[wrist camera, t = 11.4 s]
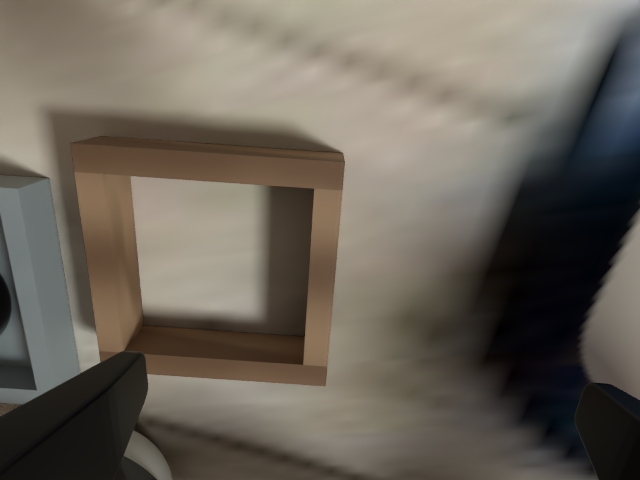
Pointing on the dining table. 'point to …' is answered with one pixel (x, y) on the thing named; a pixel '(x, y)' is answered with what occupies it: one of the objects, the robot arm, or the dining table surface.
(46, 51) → the dining table surface
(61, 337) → the slate tray
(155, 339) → the walnut collar
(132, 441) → the grey egg shaped device
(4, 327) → the supplement bottle
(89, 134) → the dining table surface
